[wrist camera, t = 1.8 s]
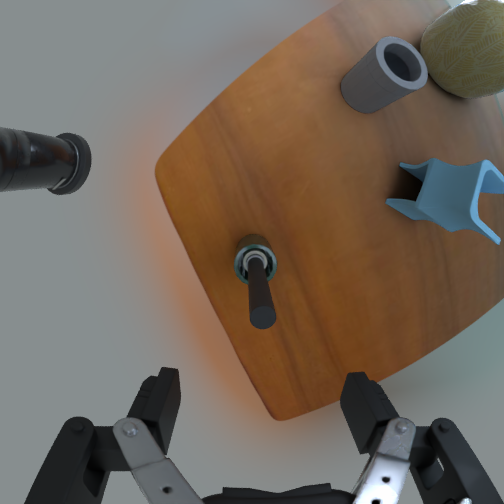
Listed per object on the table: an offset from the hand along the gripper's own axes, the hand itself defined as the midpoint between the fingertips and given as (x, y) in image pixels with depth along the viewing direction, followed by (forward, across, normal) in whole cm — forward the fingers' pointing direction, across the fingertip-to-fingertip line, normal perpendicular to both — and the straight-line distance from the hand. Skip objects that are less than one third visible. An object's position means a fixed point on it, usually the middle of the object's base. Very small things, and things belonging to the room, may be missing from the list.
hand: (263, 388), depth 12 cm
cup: (+32, -17, -27) cm, 45 cm away
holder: (+32, 0, +1) cm, 32 cm away
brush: (+32, 0, +1) cm, 32 cm away
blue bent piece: (+32, -27, -11) cm, 43 cm away
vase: (+32, -37, -40) cm, 63 cm away
